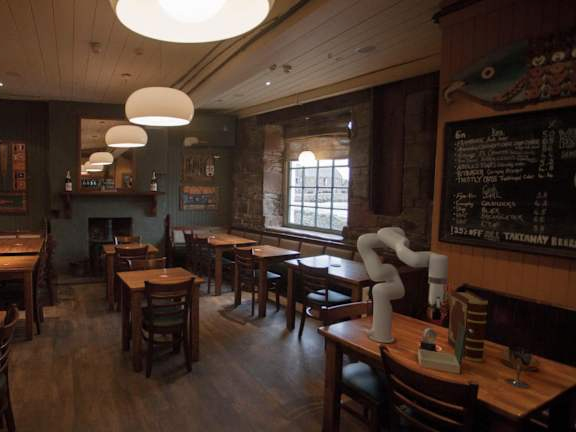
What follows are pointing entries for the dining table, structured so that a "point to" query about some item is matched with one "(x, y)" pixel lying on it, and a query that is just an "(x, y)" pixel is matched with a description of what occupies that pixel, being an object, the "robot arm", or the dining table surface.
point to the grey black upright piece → (429, 344)
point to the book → (438, 361)
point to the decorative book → (468, 323)
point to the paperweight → (432, 313)
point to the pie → (505, 358)
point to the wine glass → (519, 363)
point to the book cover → (461, 341)
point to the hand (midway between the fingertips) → (435, 317)
